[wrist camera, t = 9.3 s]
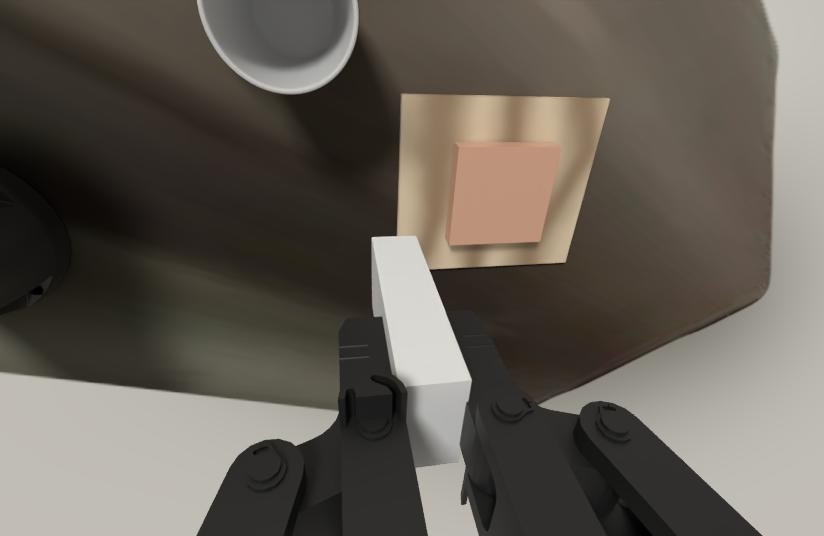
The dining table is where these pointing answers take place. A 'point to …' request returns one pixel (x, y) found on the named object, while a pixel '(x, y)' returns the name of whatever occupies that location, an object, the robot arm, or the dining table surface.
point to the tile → (500, 191)
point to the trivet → (491, 122)
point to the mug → (283, 40)
